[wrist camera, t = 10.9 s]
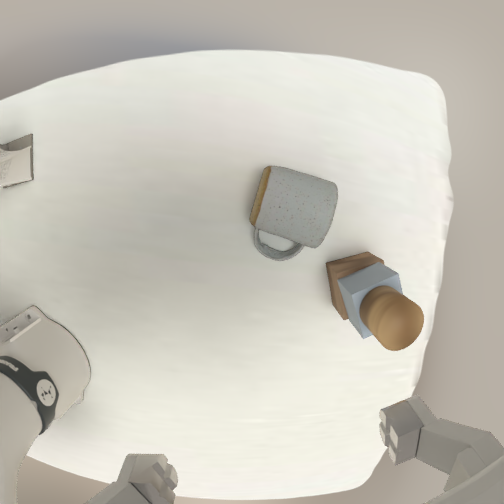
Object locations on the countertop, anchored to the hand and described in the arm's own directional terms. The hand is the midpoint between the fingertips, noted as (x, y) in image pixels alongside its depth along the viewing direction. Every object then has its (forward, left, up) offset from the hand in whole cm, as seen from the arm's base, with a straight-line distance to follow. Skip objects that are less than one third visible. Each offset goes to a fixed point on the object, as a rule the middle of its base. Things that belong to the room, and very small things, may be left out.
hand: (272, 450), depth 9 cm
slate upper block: (+12, -6, -24) cm, 28 cm away
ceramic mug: (+5, +4, -29) cm, 30 cm away
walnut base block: (+12, -6, -29) cm, 32 cm away
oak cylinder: (+12, -6, -19) cm, 23 cm away
